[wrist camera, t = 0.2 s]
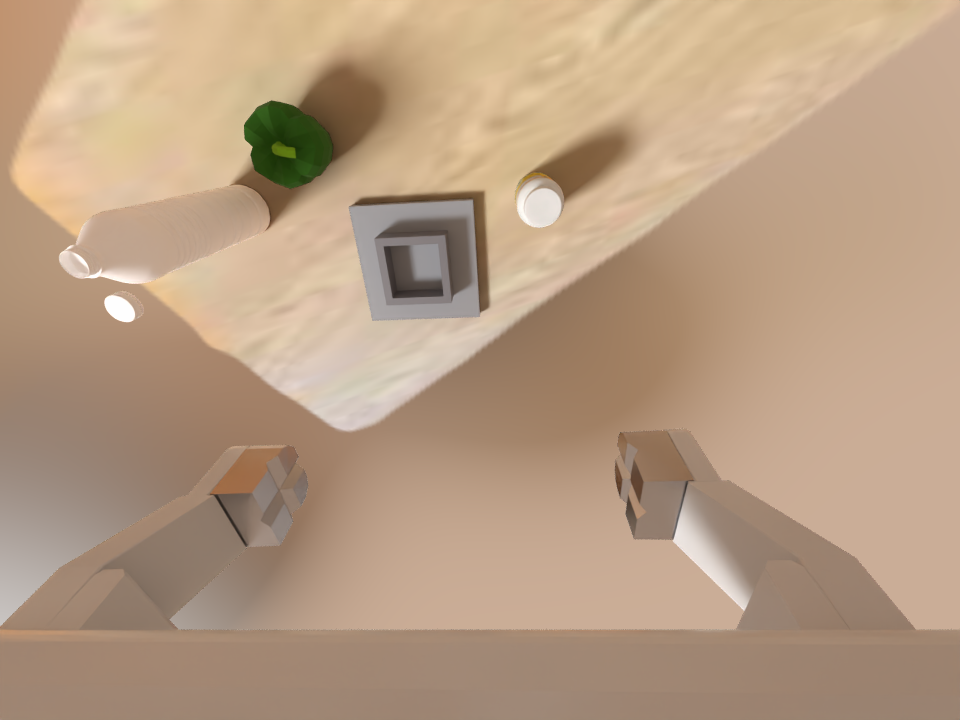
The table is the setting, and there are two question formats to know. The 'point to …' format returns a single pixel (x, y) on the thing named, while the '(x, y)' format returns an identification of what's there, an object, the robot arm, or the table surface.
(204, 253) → the water bottle
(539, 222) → the supplement bottle
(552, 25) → the table surface
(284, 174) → the bell pepper
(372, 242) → the bottle stand
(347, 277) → the table surface
